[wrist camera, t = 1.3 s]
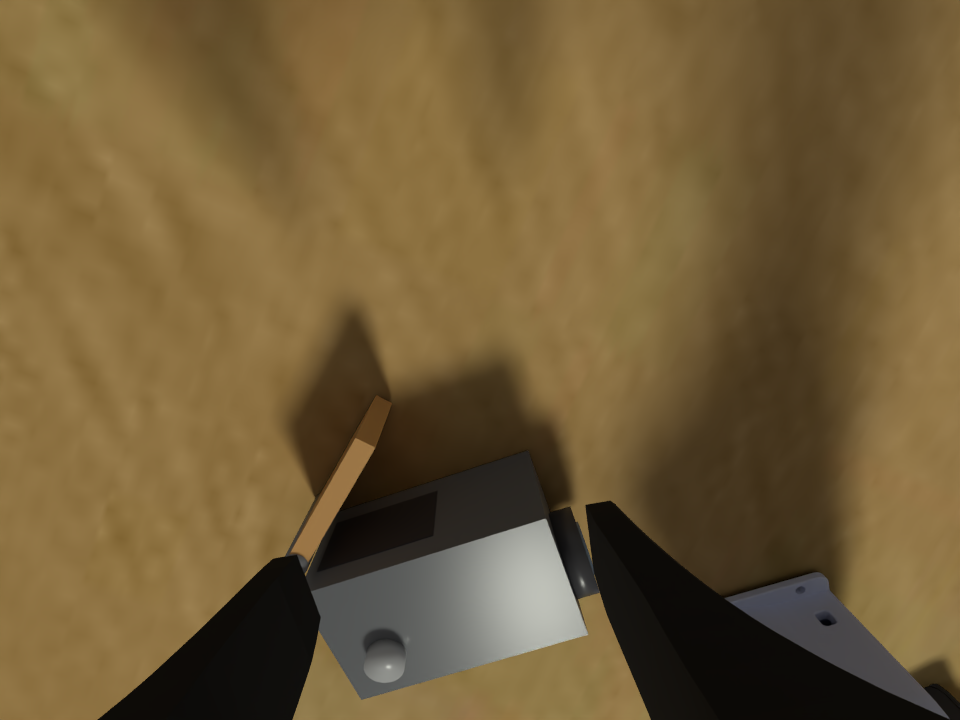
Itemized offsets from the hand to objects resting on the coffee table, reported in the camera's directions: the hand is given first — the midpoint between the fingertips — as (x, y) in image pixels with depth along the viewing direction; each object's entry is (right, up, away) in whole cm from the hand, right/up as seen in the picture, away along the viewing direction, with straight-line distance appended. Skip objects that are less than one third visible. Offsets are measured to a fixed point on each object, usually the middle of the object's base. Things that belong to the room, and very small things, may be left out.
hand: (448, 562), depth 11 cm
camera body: (-1, -4, +12) cm, 12 cm away
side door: (-5, +1, +10) cm, 11 cm away
